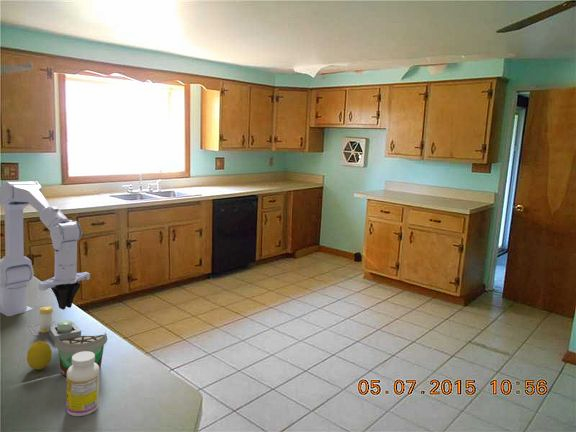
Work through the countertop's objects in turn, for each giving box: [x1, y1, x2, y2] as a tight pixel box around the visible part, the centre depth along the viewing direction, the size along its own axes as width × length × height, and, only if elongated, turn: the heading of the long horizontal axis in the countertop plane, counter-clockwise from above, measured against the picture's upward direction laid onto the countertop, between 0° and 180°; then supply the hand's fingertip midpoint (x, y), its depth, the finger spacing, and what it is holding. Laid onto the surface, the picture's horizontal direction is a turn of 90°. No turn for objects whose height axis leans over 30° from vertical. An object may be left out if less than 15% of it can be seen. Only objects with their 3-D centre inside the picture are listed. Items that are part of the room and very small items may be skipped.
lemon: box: [26, 340, 53, 371], centre depth 110 cm, size 6×6×8 cm
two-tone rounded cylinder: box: [39, 305, 54, 334], centre depth 131 cm, size 4×4×7 cm
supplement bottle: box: [65, 351, 100, 417], centre depth 97 cm, size 7×7×13 cm
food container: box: [54, 333, 108, 379], centre depth 110 cm, size 12×6×10 cm, turn 117°
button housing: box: [48, 321, 82, 344], centre depth 129 cm, size 7×7×2 cm
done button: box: [56, 320, 74, 334], centre depth 128 cm, size 4×4×3 cm
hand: (65, 307), depth 127 cm, fingers closed
